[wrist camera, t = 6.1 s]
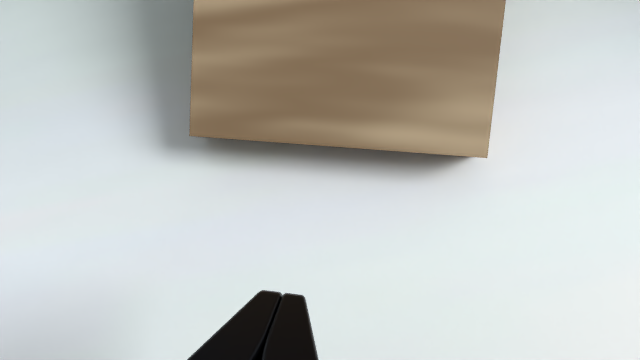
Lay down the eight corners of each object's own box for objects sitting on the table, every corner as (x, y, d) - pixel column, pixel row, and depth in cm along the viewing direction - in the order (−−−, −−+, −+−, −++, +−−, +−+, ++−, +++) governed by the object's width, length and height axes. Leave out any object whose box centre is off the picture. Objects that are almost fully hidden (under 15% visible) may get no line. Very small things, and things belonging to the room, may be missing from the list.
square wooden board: (487, 157, 14) (525, -167, 13) (189, 135, 15) (198, -167, 14) (474, 155, 16) (508, -135, 15) (206, 135, 17) (215, -137, 16)
